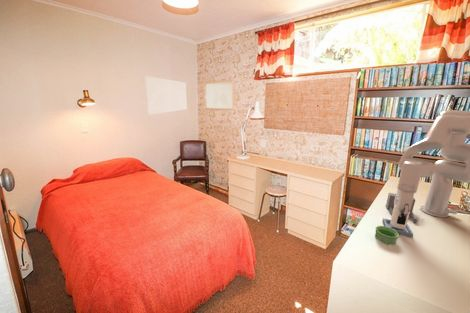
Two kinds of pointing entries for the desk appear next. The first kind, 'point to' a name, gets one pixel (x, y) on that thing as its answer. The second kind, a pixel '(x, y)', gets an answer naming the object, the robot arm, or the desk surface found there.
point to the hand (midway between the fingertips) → (398, 220)
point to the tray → (402, 232)
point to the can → (395, 217)
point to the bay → (391, 206)
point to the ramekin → (386, 235)
